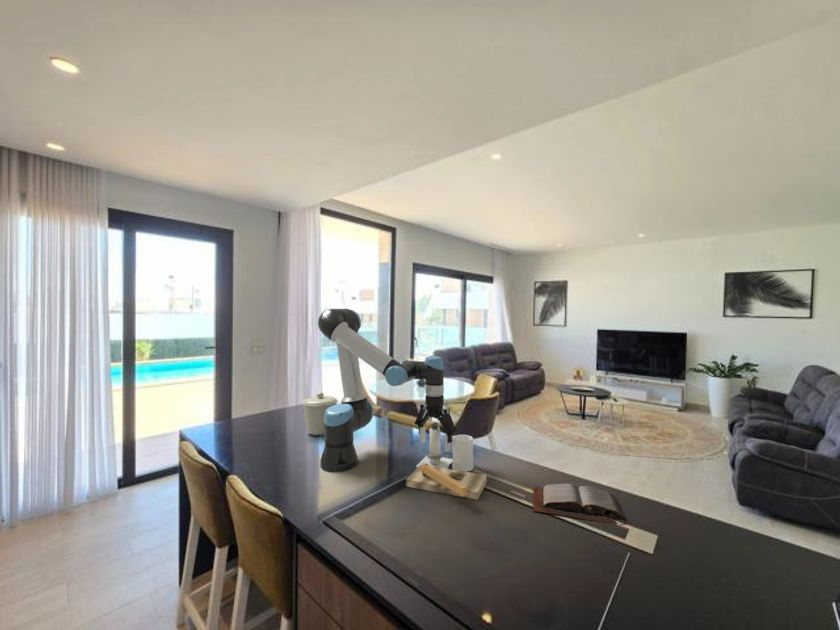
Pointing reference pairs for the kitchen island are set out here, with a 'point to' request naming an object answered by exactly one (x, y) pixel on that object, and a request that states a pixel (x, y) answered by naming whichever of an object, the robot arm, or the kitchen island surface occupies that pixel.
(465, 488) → the wooden bar
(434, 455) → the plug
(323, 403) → the canister
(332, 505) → the kitchen island surface
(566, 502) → the book
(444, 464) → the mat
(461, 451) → the mug
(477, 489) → the socket board
